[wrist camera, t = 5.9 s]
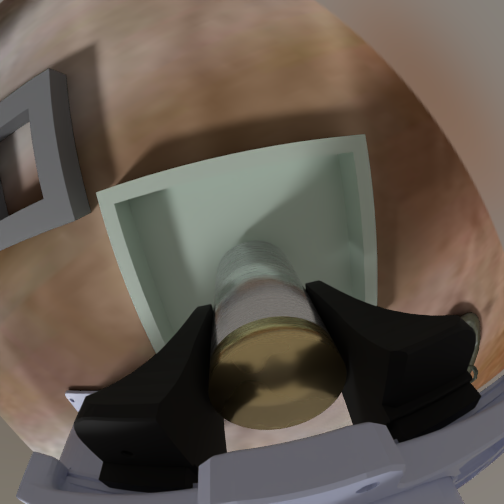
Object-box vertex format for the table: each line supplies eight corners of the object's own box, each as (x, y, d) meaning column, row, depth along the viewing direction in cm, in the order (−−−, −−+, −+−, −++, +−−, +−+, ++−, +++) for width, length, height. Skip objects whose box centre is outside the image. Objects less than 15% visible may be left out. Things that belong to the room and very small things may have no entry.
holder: (91, 212, 14) (75, 220, 12) (3, 246, 14) (-13, 256, 12) (66, 74, 11) (49, 68, 9) (-20, 134, 11) (-37, 135, 9)
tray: (360, 330, 18) (374, 351, 16) (181, 369, 18) (177, 394, 16) (344, 136, 14) (364, 134, 12) (115, 186, 14) (95, 192, 12)
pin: (298, 299, 15) (347, 409, 8) (228, 317, 15) (232, 438, 8) (283, 231, 14) (342, 318, 7) (206, 252, 14) (186, 358, 7)
